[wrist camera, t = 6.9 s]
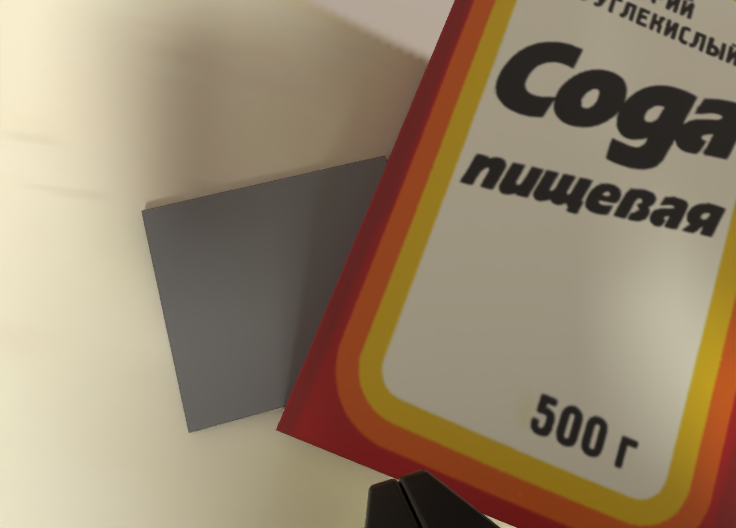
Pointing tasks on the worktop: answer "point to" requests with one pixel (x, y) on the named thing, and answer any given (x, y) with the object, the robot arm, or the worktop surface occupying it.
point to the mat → (253, 283)
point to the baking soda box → (549, 272)
